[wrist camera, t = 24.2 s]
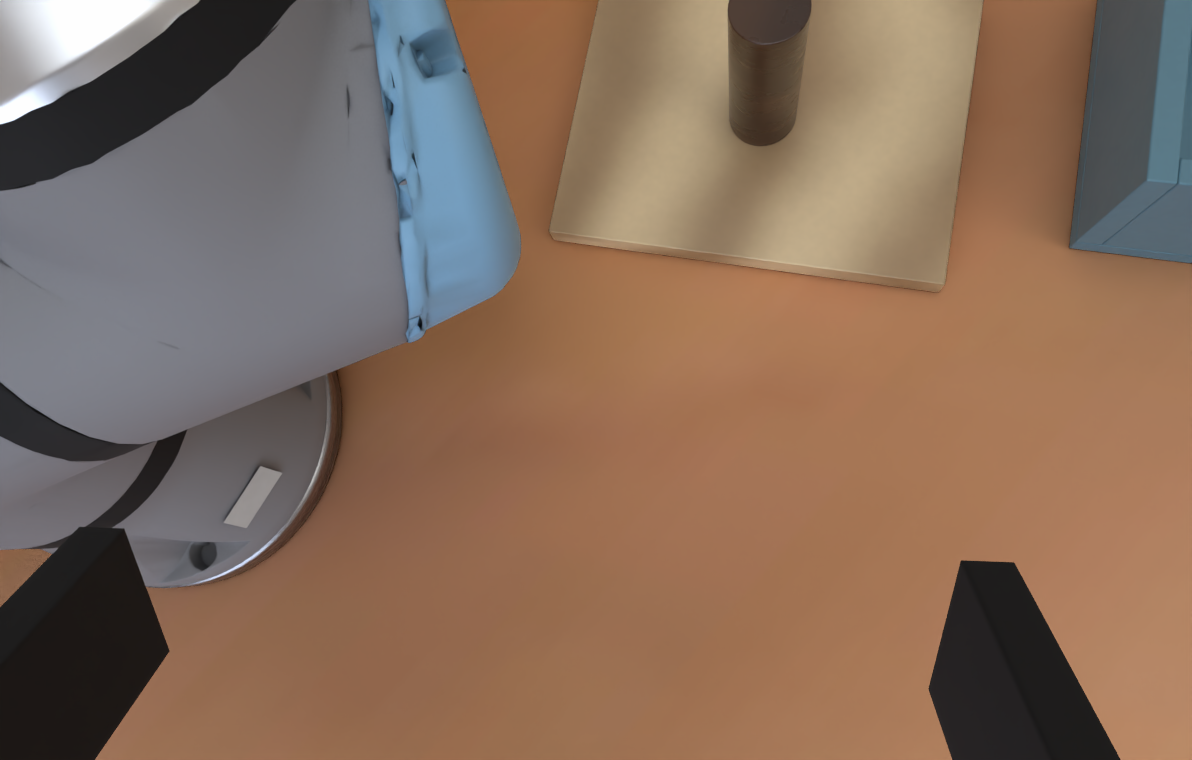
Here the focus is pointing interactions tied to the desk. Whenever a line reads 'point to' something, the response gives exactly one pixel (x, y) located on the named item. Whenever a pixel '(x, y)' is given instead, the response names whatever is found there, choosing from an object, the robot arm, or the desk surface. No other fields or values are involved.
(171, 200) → the robot arm
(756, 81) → the tan piece
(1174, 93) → the toy box
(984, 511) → the desk surface
